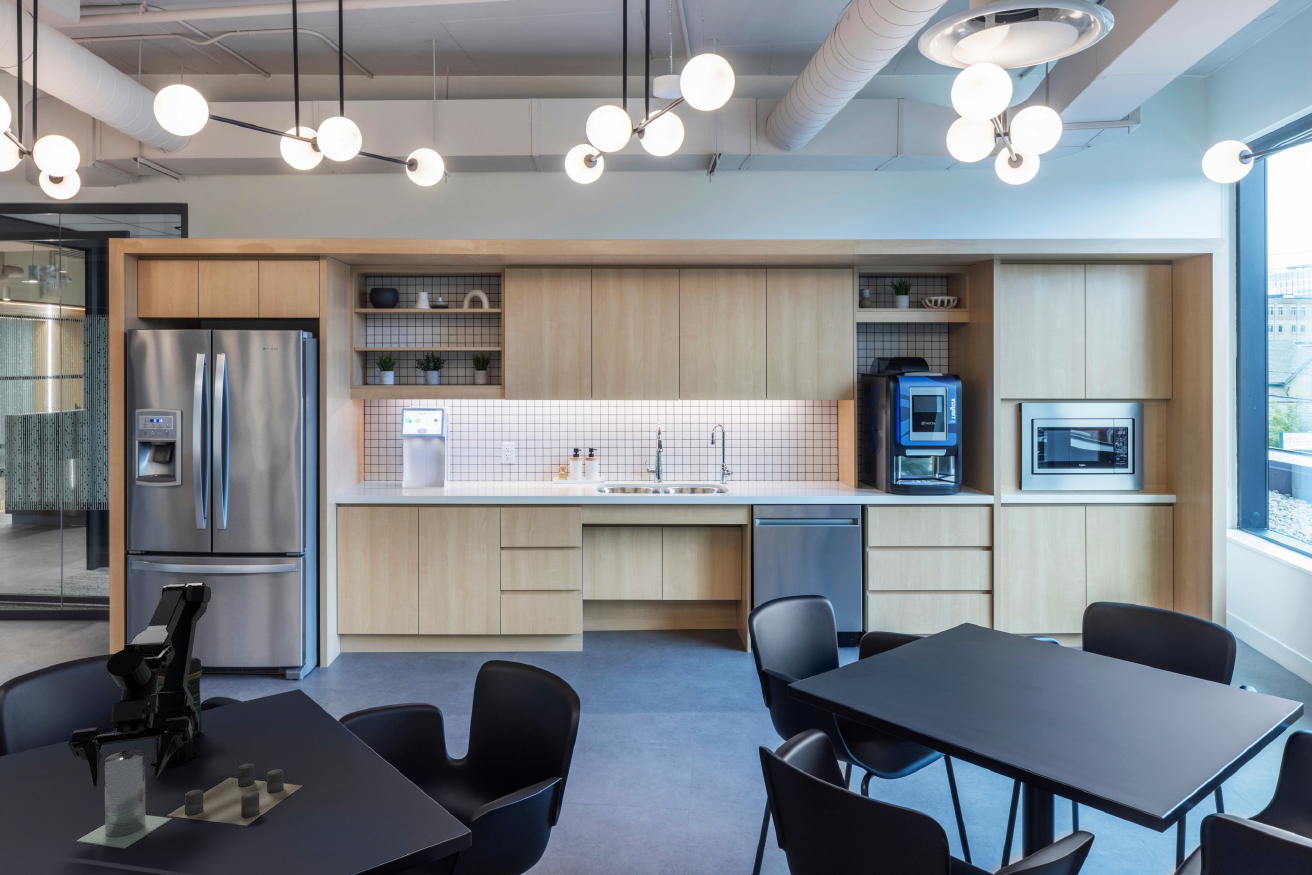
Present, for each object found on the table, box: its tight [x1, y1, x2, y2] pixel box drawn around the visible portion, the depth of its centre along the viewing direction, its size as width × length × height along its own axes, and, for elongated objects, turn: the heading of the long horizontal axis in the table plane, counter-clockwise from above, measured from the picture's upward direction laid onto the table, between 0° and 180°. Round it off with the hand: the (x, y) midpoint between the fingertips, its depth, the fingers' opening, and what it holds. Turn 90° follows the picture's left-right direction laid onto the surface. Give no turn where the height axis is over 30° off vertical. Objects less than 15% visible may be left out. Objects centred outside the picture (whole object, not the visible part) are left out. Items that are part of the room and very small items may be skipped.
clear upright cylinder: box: [104, 749, 146, 838], centre depth 140 cm, size 6×6×13 cm
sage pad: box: [76, 814, 172, 849], centre depth 140 cm, size 10×10×1 cm
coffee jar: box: [154, 657, 203, 738], centre depth 185 cm, size 10×8×19 cm
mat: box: [166, 762, 303, 826], centre depth 152 cm, size 17×16×4 cm
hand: (126, 781), depth 141 cm, fingers open, 9 cm apart
